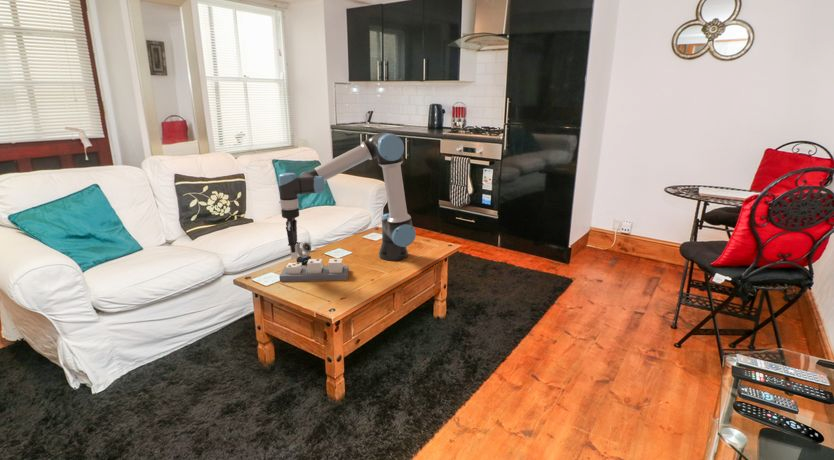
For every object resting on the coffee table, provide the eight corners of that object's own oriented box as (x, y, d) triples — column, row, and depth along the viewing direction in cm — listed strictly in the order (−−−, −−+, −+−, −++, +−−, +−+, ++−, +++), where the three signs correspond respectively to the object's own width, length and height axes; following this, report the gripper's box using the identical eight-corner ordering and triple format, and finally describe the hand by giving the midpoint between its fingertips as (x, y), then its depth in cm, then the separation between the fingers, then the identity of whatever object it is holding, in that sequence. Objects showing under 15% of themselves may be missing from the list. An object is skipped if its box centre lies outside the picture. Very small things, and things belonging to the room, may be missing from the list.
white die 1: (302, 272, 212) (301, 262, 210) (300, 277, 206) (299, 266, 204) (289, 272, 211) (288, 262, 210) (286, 277, 205) (285, 266, 204)
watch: (305, 266, 222) (304, 244, 219) (294, 262, 226) (292, 241, 223) (314, 262, 226) (312, 241, 223) (302, 259, 230) (301, 239, 227)
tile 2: (322, 268, 212) (322, 258, 210) (320, 273, 206) (320, 262, 205) (309, 269, 211) (309, 258, 210) (307, 273, 206) (307, 263, 204)
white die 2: (342, 268, 213) (342, 258, 211) (341, 273, 207) (341, 262, 205) (330, 268, 212) (329, 258, 211) (328, 273, 206) (328, 262, 205)
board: (348, 270, 216) (348, 265, 216) (347, 279, 205) (346, 274, 204) (285, 271, 214) (284, 266, 213) (279, 281, 202) (279, 276, 202)
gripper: (284, 205, 206) (289, 253, 212) (278, 211, 193) (283, 263, 200) (301, 204, 206) (305, 253, 213) (295, 211, 194) (300, 262, 200)
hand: (294, 258), depth 206 cm, fingers closed
